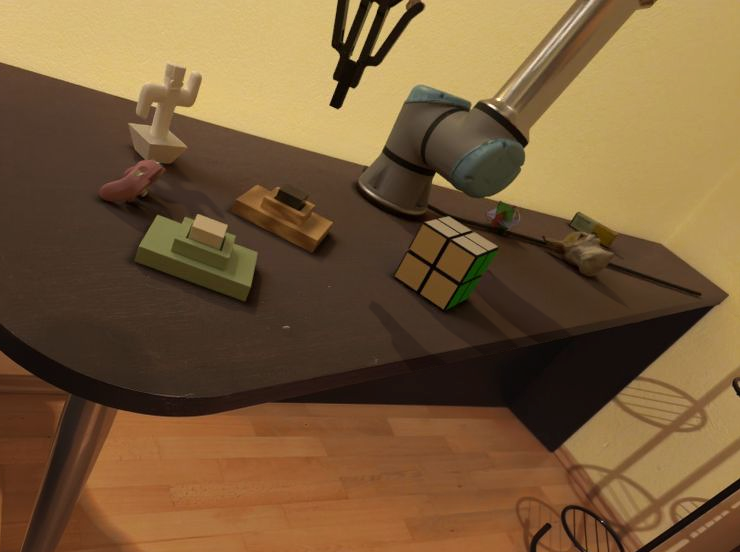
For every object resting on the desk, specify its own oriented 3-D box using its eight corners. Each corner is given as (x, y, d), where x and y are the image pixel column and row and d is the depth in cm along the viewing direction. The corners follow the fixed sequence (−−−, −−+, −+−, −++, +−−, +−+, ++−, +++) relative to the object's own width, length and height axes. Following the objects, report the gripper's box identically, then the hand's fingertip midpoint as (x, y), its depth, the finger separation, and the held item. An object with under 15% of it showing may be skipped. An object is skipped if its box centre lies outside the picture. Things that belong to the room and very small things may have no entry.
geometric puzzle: (500, 230, 137) (527, 204, 137) (476, 213, 140) (502, 188, 140) (502, 246, 143) (527, 222, 143) (479, 230, 147) (504, 206, 146)
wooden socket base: (327, 234, 105) (337, 212, 103) (312, 253, 97) (322, 230, 95) (252, 196, 106) (261, 174, 104) (231, 212, 98) (239, 188, 96)
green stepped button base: (252, 266, 86) (263, 240, 84) (244, 302, 78) (256, 274, 75) (153, 229, 84) (161, 202, 82) (134, 261, 76) (142, 232, 74)
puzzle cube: (418, 266, 108) (447, 214, 103) (467, 299, 105) (500, 247, 99) (391, 276, 101) (422, 221, 95) (443, 312, 97) (478, 256, 92)
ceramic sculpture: (604, 243, 132) (554, 212, 143) (580, 279, 136) (533, 246, 147) (633, 250, 138) (583, 220, 148) (609, 285, 142) (562, 252, 152)
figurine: (116, 143, 103) (138, 48, 95) (165, 148, 109) (190, 60, 101) (137, 165, 99) (162, 68, 91) (187, 168, 105) (215, 78, 97)
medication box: (567, 225, 175) (575, 212, 172) (571, 223, 176) (579, 210, 174) (607, 247, 169) (616, 234, 167) (610, 246, 171) (619, 233, 169)
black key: (304, 205, 101) (309, 194, 100) (297, 212, 98) (302, 200, 97) (281, 194, 101) (286, 183, 100) (274, 200, 98) (278, 188, 97)
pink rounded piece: (118, 220, 86) (152, 187, 83) (94, 194, 85) (126, 160, 81) (145, 198, 94) (176, 168, 91) (122, 174, 93) (153, 142, 90)
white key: (223, 239, 81) (228, 225, 80) (218, 252, 78) (223, 237, 76) (193, 227, 80) (197, 213, 79) (187, 240, 77) (192, 225, 76)
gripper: (355, -97, 79) (289, 91, 92) (451, -55, 78) (371, 128, 91) (365, -90, 86) (302, 85, 98) (454, -51, 85) (378, 120, 97)
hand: (335, 106), depth 95 cm, fingers closed
